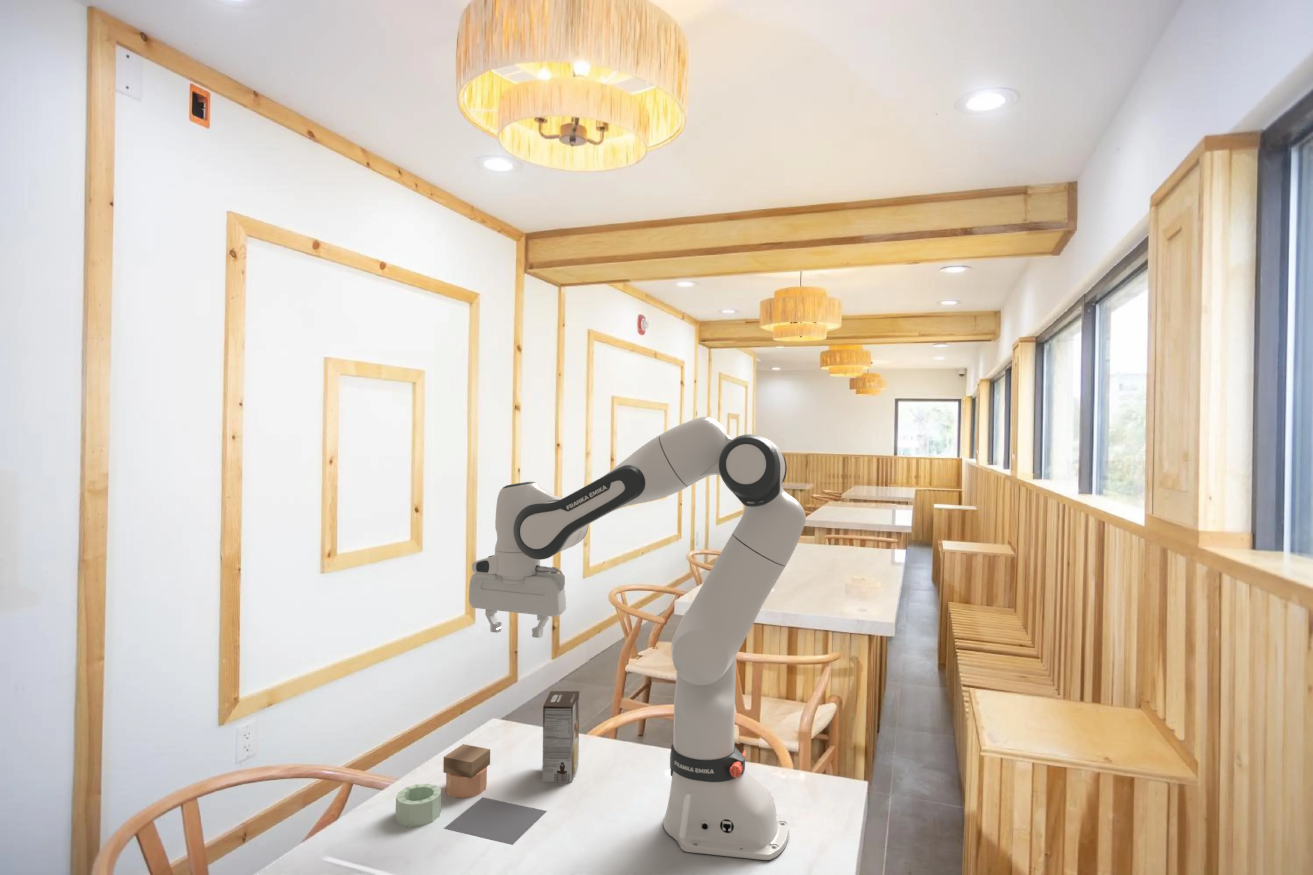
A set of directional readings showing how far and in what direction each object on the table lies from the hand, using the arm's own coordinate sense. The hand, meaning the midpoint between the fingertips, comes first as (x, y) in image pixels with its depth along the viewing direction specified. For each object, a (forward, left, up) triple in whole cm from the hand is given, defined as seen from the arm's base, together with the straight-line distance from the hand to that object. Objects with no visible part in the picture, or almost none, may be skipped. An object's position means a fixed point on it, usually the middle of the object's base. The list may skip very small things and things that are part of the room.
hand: (516, 634), depth 143 cm
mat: (-3, +11, -31) cm, 33 cm away
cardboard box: (+9, +3, -27) cm, 28 cm away
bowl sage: (+11, +15, -31) cm, 36 cm away
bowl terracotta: (+9, +3, -31) cm, 33 cm away
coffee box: (-5, -10, -31) cm, 33 cm away
